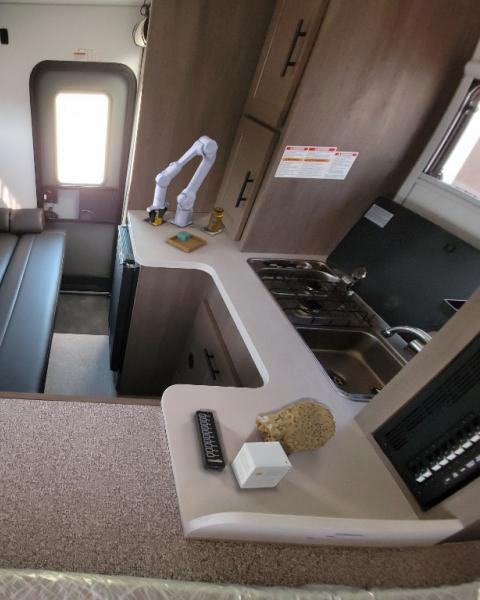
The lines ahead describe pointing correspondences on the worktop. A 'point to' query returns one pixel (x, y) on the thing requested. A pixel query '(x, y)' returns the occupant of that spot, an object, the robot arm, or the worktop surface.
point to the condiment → (214, 221)
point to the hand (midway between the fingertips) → (155, 221)
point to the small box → (260, 464)
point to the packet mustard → (157, 221)
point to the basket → (187, 242)
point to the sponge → (298, 427)
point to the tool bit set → (209, 441)
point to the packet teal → (183, 236)
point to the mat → (151, 223)
